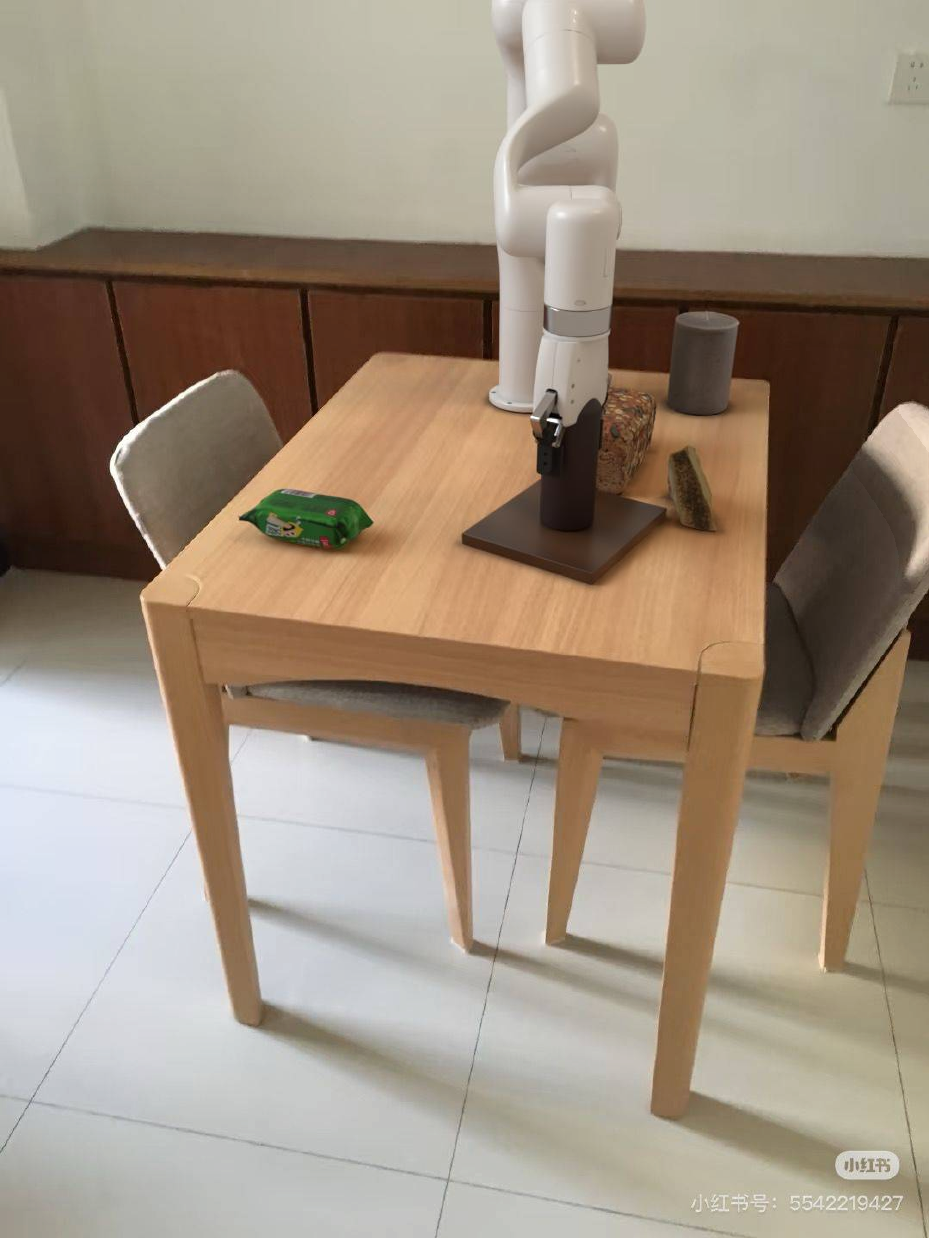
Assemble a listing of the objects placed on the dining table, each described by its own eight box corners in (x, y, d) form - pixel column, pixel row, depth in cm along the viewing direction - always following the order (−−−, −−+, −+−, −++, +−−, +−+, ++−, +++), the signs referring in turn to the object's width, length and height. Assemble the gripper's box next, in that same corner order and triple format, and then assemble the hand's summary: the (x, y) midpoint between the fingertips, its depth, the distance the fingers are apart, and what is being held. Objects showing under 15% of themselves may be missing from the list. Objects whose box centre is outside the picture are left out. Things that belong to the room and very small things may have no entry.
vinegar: (590, 507, 130) (600, 352, 120) (597, 532, 125) (608, 372, 114) (537, 508, 130) (542, 353, 119) (541, 533, 124) (548, 373, 114)
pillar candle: (664, 413, 162) (674, 318, 154) (668, 392, 170) (677, 301, 162) (727, 418, 160) (740, 322, 152) (728, 396, 168) (740, 304, 160)
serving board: (544, 485, 139) (544, 475, 138) (666, 518, 131) (667, 508, 130) (461, 543, 125) (461, 533, 125) (591, 585, 117) (592, 573, 116)
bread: (624, 499, 135) (630, 428, 130) (547, 487, 139) (550, 417, 133) (655, 447, 150) (662, 381, 145) (585, 438, 153) (589, 373, 148)
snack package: (267, 515, 132) (262, 478, 130) (377, 533, 128) (374, 495, 125) (238, 540, 127) (232, 502, 124) (352, 560, 122) (349, 521, 119)
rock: (652, 471, 137) (632, 491, 129) (697, 426, 133) (680, 444, 124) (708, 528, 137) (692, 552, 129) (756, 486, 133) (743, 507, 124)
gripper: (584, 296, 122) (577, 431, 131) (507, 333, 110) (504, 479, 119) (641, 306, 118) (630, 444, 127) (568, 345, 106) (561, 495, 115)
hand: (569, 461), depth 123 cm, fingers open, 9 cm apart
